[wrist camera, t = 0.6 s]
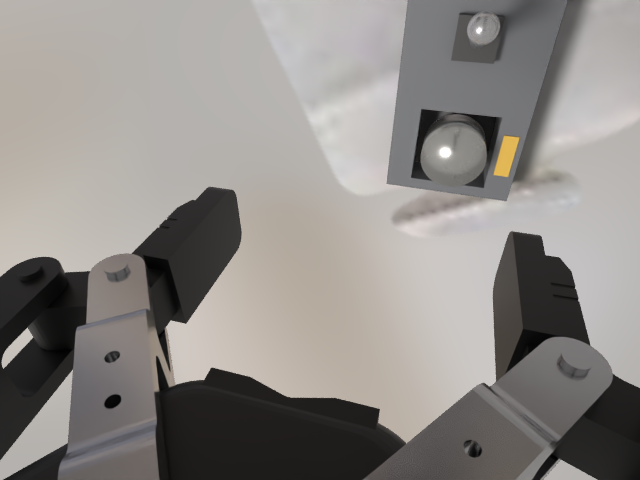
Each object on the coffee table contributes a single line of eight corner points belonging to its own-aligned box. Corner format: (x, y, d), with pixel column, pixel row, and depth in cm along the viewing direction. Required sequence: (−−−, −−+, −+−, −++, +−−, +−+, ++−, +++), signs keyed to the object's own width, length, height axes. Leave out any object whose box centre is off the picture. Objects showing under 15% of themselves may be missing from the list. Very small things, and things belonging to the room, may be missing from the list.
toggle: (466, 25, 26) (471, 6, 22) (494, 27, 26) (505, 8, 22) (460, 54, 26) (465, 41, 22) (488, 56, 26) (498, 43, 22)
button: (428, 110, 32) (425, 124, 30) (492, 117, 31) (493, 132, 29) (419, 166, 34) (416, 181, 32) (478, 174, 33) (478, 190, 31)
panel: (436, -196, 24) (431, -212, 21) (617, -203, 22) (638, -222, 19) (392, 167, 37) (385, 187, 34) (504, 182, 35) (506, 205, 32)
